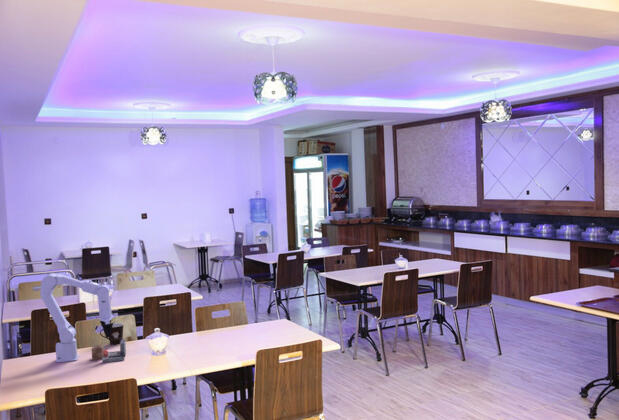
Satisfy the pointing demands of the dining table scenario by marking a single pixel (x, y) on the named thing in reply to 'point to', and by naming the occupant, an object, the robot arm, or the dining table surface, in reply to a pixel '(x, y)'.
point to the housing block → (97, 352)
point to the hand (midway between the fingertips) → (107, 335)
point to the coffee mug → (115, 334)
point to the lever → (105, 355)
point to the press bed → (117, 353)
